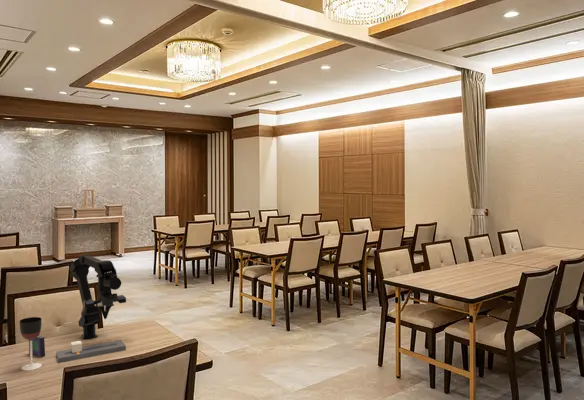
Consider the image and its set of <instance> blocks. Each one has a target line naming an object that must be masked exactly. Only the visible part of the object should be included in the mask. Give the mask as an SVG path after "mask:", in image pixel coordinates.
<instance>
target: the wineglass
mask: <svg viewBox="0 0 584 400" xmlns="http://www.w3.org/2000/svg"><path fill="white" fill-rule="evenodd" d="M41 329H42V317H38V316H32V317H26V318H22V319H20V320H19V331H20V334H21V337H22V338H23V339H25V340H27V341H29V340H30V355H29V356H30V364H26V365H23V366H22V367H21V370H22V371H33V370H37V369H39V368H41V367H42V366H43V365H42V363H41V362H40V363H38V362H36V363H35V362H33V359H34V357H33V355H32V340H33V339H35V338H36V337H38V336H39V334H40V335H41Z"/></svg>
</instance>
